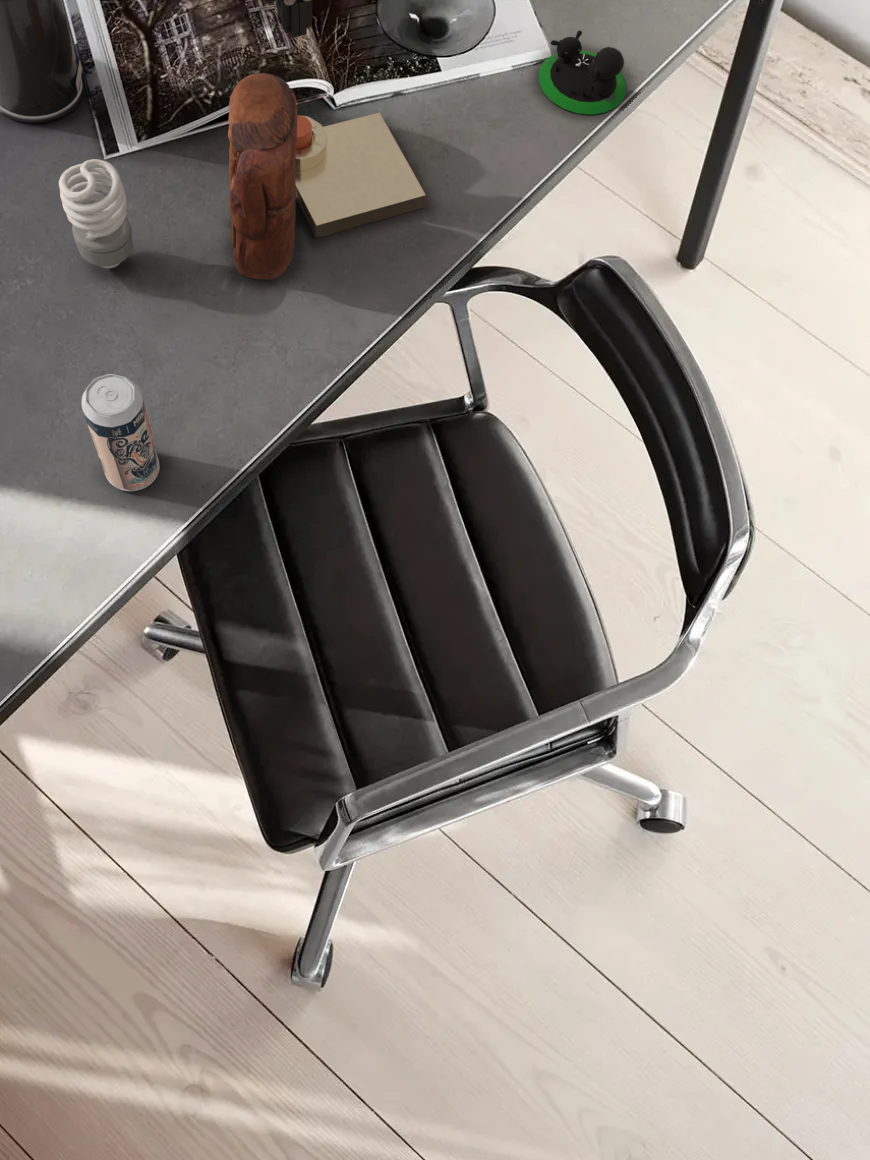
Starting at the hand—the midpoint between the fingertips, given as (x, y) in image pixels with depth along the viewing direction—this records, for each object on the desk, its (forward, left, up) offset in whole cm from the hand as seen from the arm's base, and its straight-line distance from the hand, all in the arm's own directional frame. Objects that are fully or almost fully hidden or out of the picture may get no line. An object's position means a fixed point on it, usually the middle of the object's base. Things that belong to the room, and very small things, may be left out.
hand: (294, 30), depth 103 cm
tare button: (0, 0, -13) cm, 13 cm away
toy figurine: (0, +34, -16) cm, 38 cm away
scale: (+4, +4, -16) cm, 17 cm away
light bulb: (+6, -22, -16) cm, 28 cm away
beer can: (+29, -27, -16) cm, 43 cm away
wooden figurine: (+9, -7, -16) cm, 19 cm away
